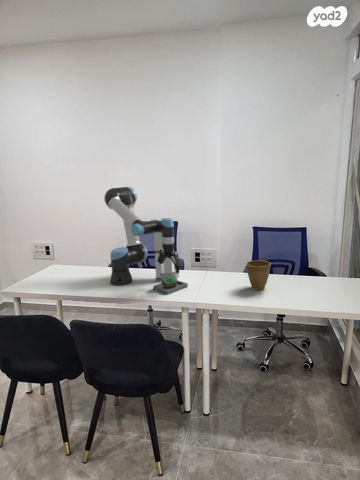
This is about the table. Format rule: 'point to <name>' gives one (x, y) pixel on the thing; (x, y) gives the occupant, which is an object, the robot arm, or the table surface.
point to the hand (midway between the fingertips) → (169, 275)
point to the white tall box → (157, 246)
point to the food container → (168, 280)
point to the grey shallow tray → (168, 291)
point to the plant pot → (258, 273)
